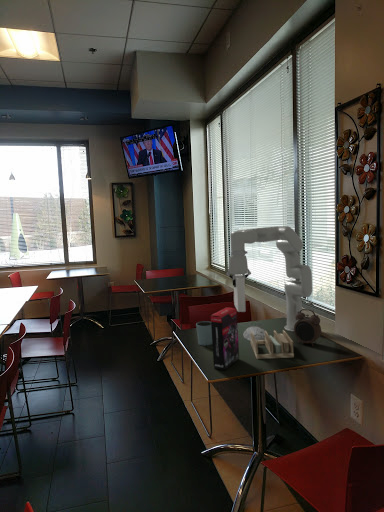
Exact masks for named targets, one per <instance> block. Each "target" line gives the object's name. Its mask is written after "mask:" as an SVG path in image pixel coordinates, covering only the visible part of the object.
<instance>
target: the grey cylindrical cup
mask: <svg viewBox="0 0 384 512" xmlns="http://www.w3.org/2000/svg"><path fill="white" fill-rule="evenodd" d="M195 326H196V333H197V341H198V342H197V344H198V345H200V346H206V345H207V346H211V345H212V329H211V321H210V320H209V321H208V320H207V321H205V320H203V321H198V322H196V324H195Z"/></svg>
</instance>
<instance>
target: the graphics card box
mask: <svg viewBox="0 0 384 512" xmlns="http://www.w3.org/2000/svg"><path fill="white" fill-rule="evenodd" d="M237 312H238V311H237V309H236V307H235V308H234V307H224V308H222V309H220V310H219V311H217V312H215V313H213V314H211V315H210V322H211V329H212V344H211V345H212V355H213V356H212V357H213V358H212V359H213V368H214V369H217V370H222V371H225V370H227V369H228V368H229V367H231V366H232V365H233V364H234V363H235V362H237V361H238V360H239V359H240V349H239V348H240V347H239V329H238V313H237Z"/></svg>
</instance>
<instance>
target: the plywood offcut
mask: <svg viewBox="0 0 384 512" xmlns="http://www.w3.org/2000/svg"><path fill="white" fill-rule="evenodd" d="M277 334H278V335H279V337H280V338H281V340H282V341H283V353H289V343H288V341H287V340H286V338H285V337H284V336H283V333H277Z"/></svg>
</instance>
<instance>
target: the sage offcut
mask: <svg viewBox="0 0 384 512" xmlns="http://www.w3.org/2000/svg"><path fill="white" fill-rule="evenodd" d="M268 335H269V334H268ZM269 337H270V338H271V340H272V342H273V354H279V353H281V345H280V344H279V343H278V342H277V341H276V340H275V339H274V336H272V335H269Z"/></svg>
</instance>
